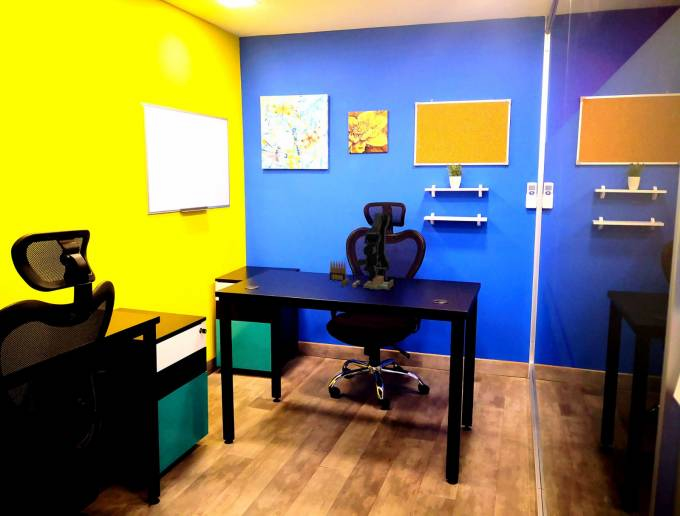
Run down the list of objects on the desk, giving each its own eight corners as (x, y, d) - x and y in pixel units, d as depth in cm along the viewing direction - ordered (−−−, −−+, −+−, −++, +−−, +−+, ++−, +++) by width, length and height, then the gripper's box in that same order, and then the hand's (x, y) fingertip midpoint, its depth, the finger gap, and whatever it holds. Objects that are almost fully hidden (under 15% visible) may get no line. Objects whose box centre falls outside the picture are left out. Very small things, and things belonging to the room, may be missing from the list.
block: (376, 281, 312) (376, 275, 311) (383, 282, 311) (383, 276, 310) (372, 284, 302) (373, 278, 302) (380, 285, 301) (380, 279, 301)
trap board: (347, 283, 318) (347, 277, 318) (393, 285, 311) (393, 279, 311) (341, 287, 306) (341, 281, 305) (389, 289, 299) (389, 283, 298)
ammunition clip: (346, 281, 323) (346, 261, 322) (345, 282, 322) (345, 262, 320) (330, 280, 328) (330, 260, 326) (329, 280, 326) (329, 260, 325)
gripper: (362, 251, 316) (362, 277, 318) (354, 255, 298) (354, 283, 301) (381, 252, 313) (380, 278, 316) (374, 256, 296) (374, 284, 298)
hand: (372, 281), depth 307 cm, fingers closed
